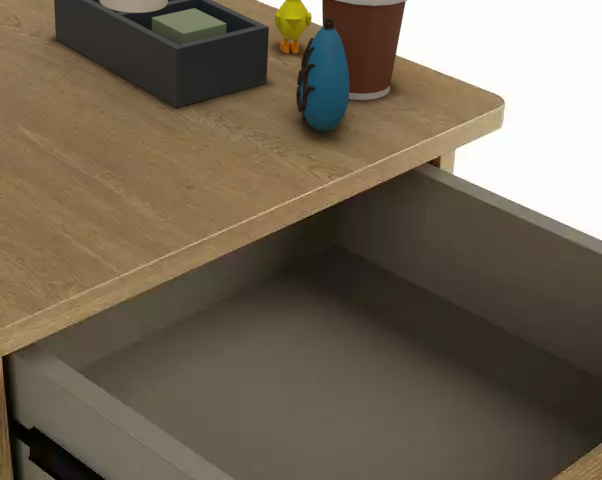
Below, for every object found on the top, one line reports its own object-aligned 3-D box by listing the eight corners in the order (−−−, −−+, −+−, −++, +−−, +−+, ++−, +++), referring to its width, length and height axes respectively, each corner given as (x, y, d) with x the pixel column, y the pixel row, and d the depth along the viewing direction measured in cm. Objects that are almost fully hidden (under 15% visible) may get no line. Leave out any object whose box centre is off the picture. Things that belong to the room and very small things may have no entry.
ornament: (293, 106, 119) (299, 0, 113) (343, 108, 119) (351, 3, 114) (295, 145, 112) (302, 34, 106) (349, 147, 112) (358, 36, 107)
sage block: (182, 85, 120) (183, 33, 117) (151, 68, 123) (151, 17, 120) (225, 74, 123) (226, 23, 120) (193, 57, 126) (194, 7, 123)
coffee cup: (422, 86, 125) (436, -37, 118) (369, 114, 118) (380, -15, 112) (344, 61, 129) (354, -59, 123) (289, 86, 123) (296, -39, 116)
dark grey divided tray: (176, 108, 117) (176, 49, 114) (55, 39, 130) (53, -16, 127) (266, 83, 123) (269, 26, 120) (143, 20, 136) (142, -33, 133)
